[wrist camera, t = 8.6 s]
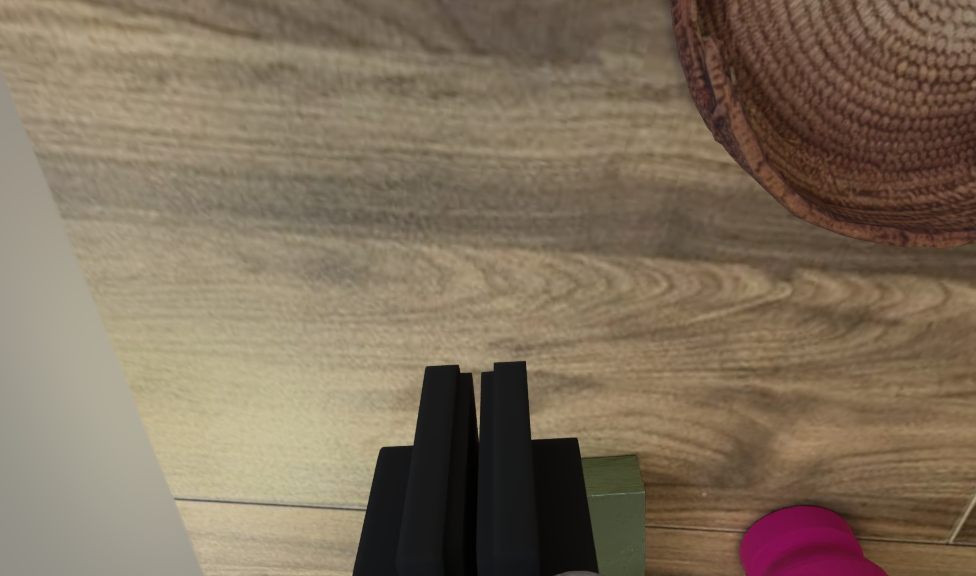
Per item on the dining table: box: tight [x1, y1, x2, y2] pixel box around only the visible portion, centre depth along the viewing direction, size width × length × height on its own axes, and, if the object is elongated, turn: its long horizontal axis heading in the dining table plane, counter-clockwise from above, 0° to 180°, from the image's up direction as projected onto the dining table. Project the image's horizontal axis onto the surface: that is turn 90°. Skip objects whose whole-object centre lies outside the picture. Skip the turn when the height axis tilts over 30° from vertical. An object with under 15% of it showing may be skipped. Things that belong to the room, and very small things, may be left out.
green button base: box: [581, 455, 646, 576], centre depth 38 cm, size 14×11×4 cm
